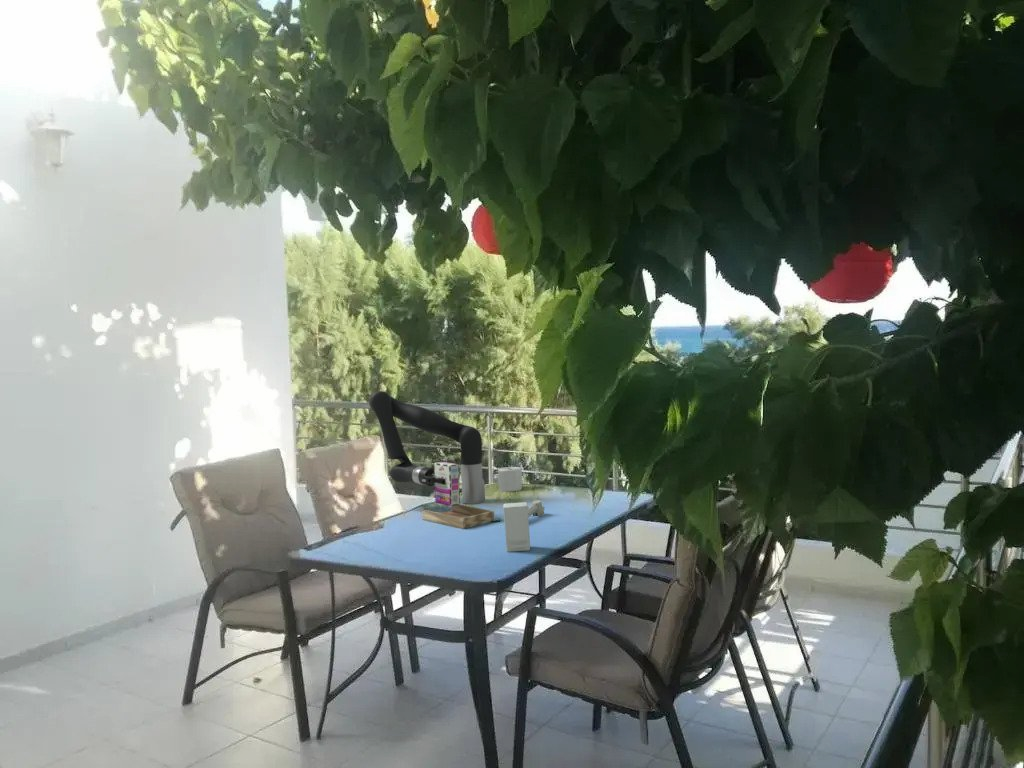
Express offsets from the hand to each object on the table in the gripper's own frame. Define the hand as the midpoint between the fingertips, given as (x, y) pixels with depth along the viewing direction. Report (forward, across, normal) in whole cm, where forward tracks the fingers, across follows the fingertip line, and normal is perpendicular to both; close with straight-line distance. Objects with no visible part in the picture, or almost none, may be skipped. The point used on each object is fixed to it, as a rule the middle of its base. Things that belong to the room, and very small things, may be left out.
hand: (450, 480), depth 330 cm
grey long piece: (+26, +17, +16) cm, 35 cm away
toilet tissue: (-26, +56, +16) cm, 64 cm away
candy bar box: (-2, 0, +10) cm, 10 cm away
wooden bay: (+4, 0, +16) cm, 16 cm away
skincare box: (+55, -15, +15) cm, 59 cm away
